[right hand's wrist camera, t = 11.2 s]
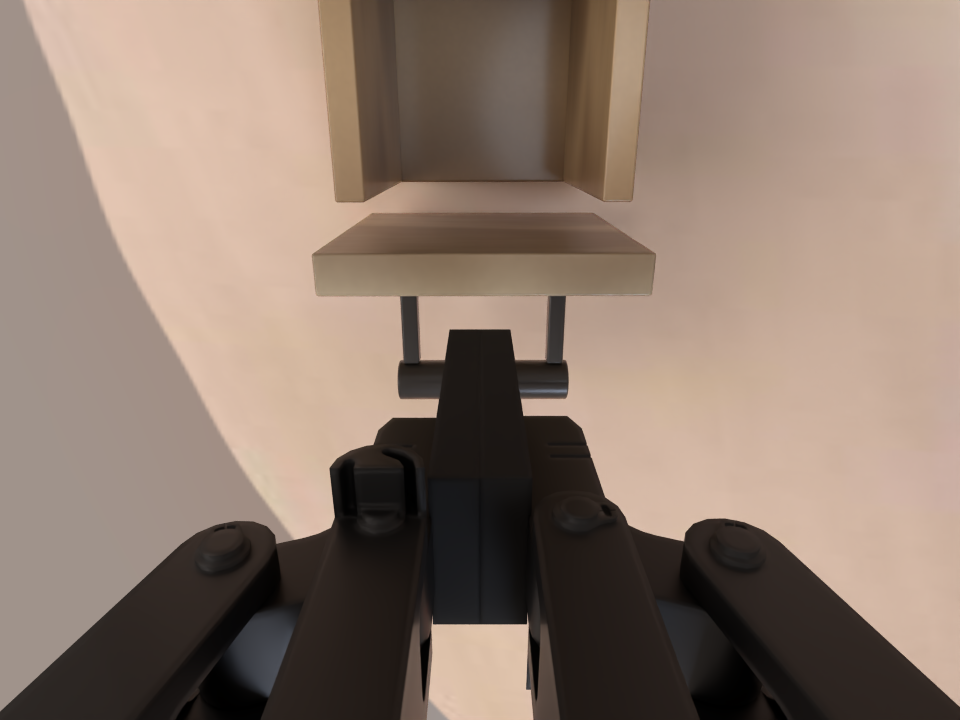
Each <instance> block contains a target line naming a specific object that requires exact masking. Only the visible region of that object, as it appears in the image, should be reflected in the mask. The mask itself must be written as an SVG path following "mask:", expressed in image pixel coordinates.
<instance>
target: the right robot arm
mask: <svg viewBox="0 0 960 720" xmlns="http://www.w3.org/2000/svg"><path fill="white" fill-rule="evenodd" d="M330 477H331V486H332V495H333V504H334V513H335V519H334V521H333V524H332V527H331V528H330V529H328V530H326V531H323V532H321V533H319V534H316V535H313V536H309V537H306V538H302V539H297V540H293V541H288V542H283V543H279V544H276V539H275V535H274V534H273V533H272V531H271V530H270V529H269V528H268V527H267V526H264V525H261V524H259V523H256V522H250V521H234V522H229V523H224V524H219V525H215V526H213V527H210V528H208V529H206V530H203V531H201V532H198V533H196V534H195V535H194V536H192V537H191V538H189V539H188V540H186V541H185V542H184V543H182V544H181V545H180V546H179V547H178V548H177V549H175V550H174V551H173V552H172V553H171V554H170V555H169V556H168V557H167V558H166V559H165V560H164V561H163V562H162V563H160V564H159V565H158V566H157V567H156V568H155V569H154V570H153V571H152V572H151V573H150V574H148V575H147V576H146V577H145V578H144V579H143V580H142V581H141V582H140V583H139V584H138V585H137V586H135V587H134V588H133V589H132V590H131V591H130V592H129V593H128V594H127V595H126V596H125V597H124V598H123V599H121V600H120V601H119V602H118V603H117V604H116V605H115V606H114V607H113V608H112V609H111V610H110V611H108V612H107V613H106V614H105V615H104V616H103V617H102V618H101V619H100V620H99V621H98V622H97V623H95V624H94V625H93V626H92V627H91V628H90V629H89V630H88V631H87V632H86V633H85V634H84V635H83V636H81V637H80V638H79V639H78V640H77V641H76V642H75V643H74V644H73V645H72V646H71V647H70V648H68V649H67V650H66V651H65V652H64V653H63V654H62V655H61V656H60V657H59V658H58V659H57V660H55V661H54V662H53V663H52V664H51V665H50V666H49V667H48V668H47V669H46V670H45V671H44V672H43V673H41V674H40V675H39V676H38V677H37V678H36V679H35V680H34V681H33V682H32V683H31V684H30V685H28V686H27V687H26V688H25V689H24V690H23V691H22V692H21V693H20V694H19V695H18V696H17V697H15V698H14V699H13V700H12V701H11V702H10V703H9V704H8V705H7V706H6V707H5V708H4V709H3V710H1V711H0V720H426V719H427V708H428V696H429V685H430V673H431V662H432V634H431V625H432V615H433V624H527V612H528V622H529V634H528V659H527V683H526V690H531V695H532V707H533V718H534V720H960V707H959V706H958V705H957V704H956V703H955V702H954V701H953V700H952V699H950V698H949V697H948V696H947V695H946V694H945V693H944V692H943V691H942V690H941V689H940V688H938V687H937V686H936V685H935V684H934V683H933V682H932V681H931V680H930V679H929V678H928V677H926V676H925V675H924V674H923V673H922V672H921V671H920V670H919V669H918V668H917V667H916V666H914V665H913V664H912V663H911V662H910V661H909V660H908V659H907V658H906V657H905V656H904V655H902V654H901V653H900V652H899V651H898V650H897V649H896V648H895V647H894V646H893V645H892V644H890V643H889V642H888V641H887V640H886V639H885V638H884V637H883V636H882V635H881V634H880V633H879V632H877V631H876V630H875V629H874V628H873V627H872V626H871V625H870V624H869V623H868V622H867V621H865V620H864V619H863V618H862V617H861V616H860V615H859V614H858V613H857V612H856V611H855V610H853V609H852V608H851V607H850V606H849V605H848V604H847V603H846V602H845V601H844V600H843V599H841V598H840V597H839V596H838V595H837V594H836V593H835V592H834V591H833V590H832V589H831V588H829V587H828V586H827V585H826V584H825V583H824V582H823V581H822V580H821V579H820V578H819V577H817V576H816V575H815V574H814V573H813V572H812V571H811V570H810V569H809V568H808V567H807V566H806V565H804V564H803V563H802V562H801V561H800V560H799V559H798V558H797V557H796V556H795V555H794V554H792V553H791V552H790V551H789V550H788V549H787V548H786V547H785V546H784V545H783V544H782V543H780V542H779V541H778V540H776V539H775V538H774V537H772V536H771V535H769V534H768V533H767V532H765V531H764V530H761V529H759V528H757V527H754V526H752V525H749V524H747V523H745V522H740V521H735V520H730V519H706V520H703V521H700V522H697V523H694V524H693V525H692V526H691V527H690V528H689V529H688V530H687V531H686V533H685V539H684V541H679V540H674V539H670V538H665V537H660V536H656V535H652V534H649V533H645V532H642V531H640V530H638V529H635V528H633V527H631V526H629V525H628V523H627V521H626V518H625V516H624V515H623V513H622V512H621V510H620V509H619V507H618V506H617V505H615V504H614V503H612V502H611V501H609V500H608V499H607V498H605V496H604V493H603V490H602V487H601V484H600V481H599V478H598V475H597V472H596V469H595V466H594V463H593V460H592V458H591V455H590V452H589V449H588V446H587V443H586V440H585V437H584V434H583V431H582V428H581V427H579V426H578V425H577V424H576V423H575V422H574V421H572V420H571V419H570V418H569V417H568V416H523V411H522V404H521V397H520V391H519V384H518V377H517V371H516V364H515V357H514V351H513V344H512V338H511V331H510V330H450V331H449V338H448V344H447V351H446V357H445V364H444V371H443V377H442V384H441V391H440V397H439V404H438V411H437V417H436V418H392V419H391V420H390V421H389V422H388V423H386V424H385V425H384V426H383V427H382V428H381V429H379V430H378V433H377V436H376V439H375V442H374V445H370V446H364V447H361V448H358V449H355V450H351V451H349V452H347V453H346V454H344V455H342V456H341V457H339V458H337V459H336V461H335V462H334V463H333V464H332V466H331V467H330Z"/></svg>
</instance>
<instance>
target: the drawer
mask: <svg viewBox="0 0 960 720" xmlns="http://www.w3.org/2000/svg"><path fill="white" fill-rule="evenodd" d="M649 7H650V0H318V8H319V19H320V31H321V42H322V53H323V65H324V76H325V88H326V99H327V111H328V122H329V133H330V145H331V156H332V168H333V179H334V191H335V200H336V202H365V201H367V200H369V199H370V198H372V197H374V196H376V195H378V194H380V193H382V192H383V191H385V190H387V189H389V188H391V187H393V186H395V185H396V184H398V183H400V182H566V183H568V184H570V185H572V186H574V187H576V188H578V189H580V190H582V191H584V192H586V193H588V194H590V195H592V196H594V197H596V198H598V199H600V200H602V201H604V202H630V201H632V199H633V188H634V177H635V165H636V154H637V143H638V131H639V120H640V109H641V97H642V86H643V75H644V63H645V52H646V41H647V29H648V18H649ZM655 259H656V254H655V253H654V252H652V251H651V250H649V249H648V248H646V247H645V246H643V245H642V244H640V243H639V242H637V241H636V240H634V239H632V238H631V237H629V236H628V235H626V234H625V233H623V232H622V231H620V230H619V229H617V228H616V227H614V226H612V225H611V224H609V223H608V222H606V221H605V220H603V219H602V218H600V217H599V216H597V215H596V214H594V213H372V214H370V215H369V216H367V217H366V218H365V219H363V220H362V221H360V222H359V223H357V224H356V225H354V226H353V227H351V228H350V229H348V230H347V231H346V232H344V233H343V234H341V235H340V236H338V237H337V238H335V239H334V240H332V241H331V242H329V243H328V244H326V245H325V246H324V247H322V248H321V249H319V250H318V251H316V252H315V253H313V254H312V261H313V271H314V280H315V290H316V295H317V296H400V300H401V319H402V339H403V358H404V360H401V361H400V363H399V367H398V393H399V397H400V399H439V397H440V391H441V384H442V377H443V371H444V364H445V360H420V358H421V352H420V328H419V303H418V296H548V304H547V329H546V353H545V358H546V360H515V364H516V371H517V377H518V384H519V391H520V397H521V399H565V398H566V397H567V394H568V383H569V377H568V366H567V362H566V360H563V342H564V322H565V303H566V296H650V295H651V294H652V288H653V278H654V269H655Z"/></svg>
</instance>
